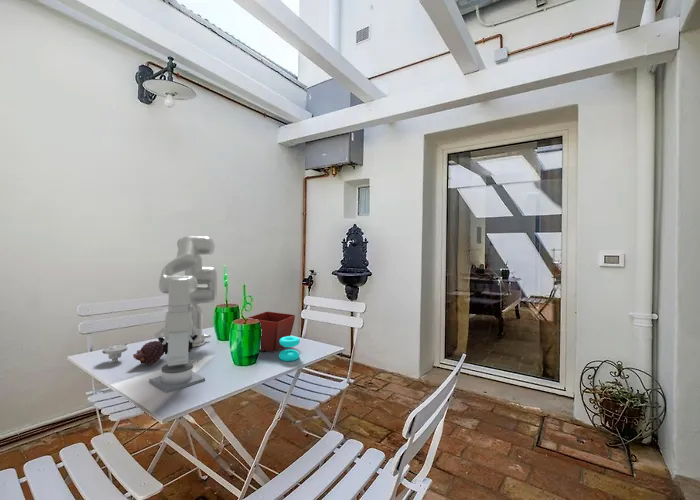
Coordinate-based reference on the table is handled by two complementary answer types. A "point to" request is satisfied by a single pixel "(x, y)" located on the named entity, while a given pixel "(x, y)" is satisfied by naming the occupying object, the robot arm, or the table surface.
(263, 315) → the plant pot
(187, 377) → the duct stub
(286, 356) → the donuts
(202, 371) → the table surface
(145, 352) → the pine cone
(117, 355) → the showerhead
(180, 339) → the supplement box
